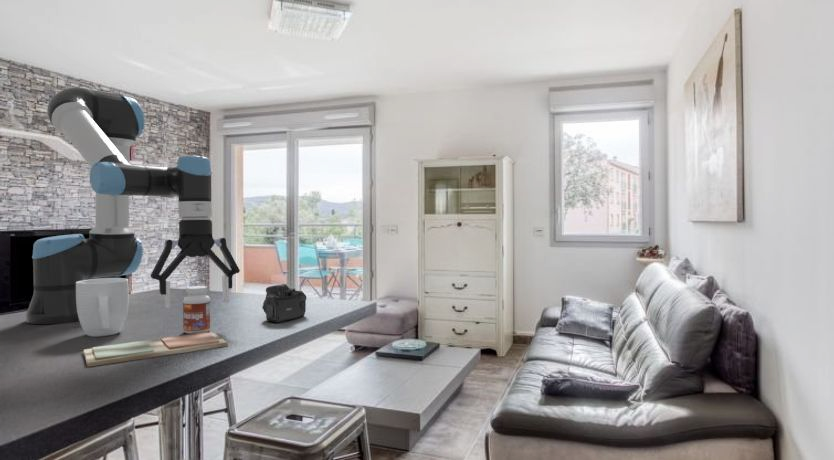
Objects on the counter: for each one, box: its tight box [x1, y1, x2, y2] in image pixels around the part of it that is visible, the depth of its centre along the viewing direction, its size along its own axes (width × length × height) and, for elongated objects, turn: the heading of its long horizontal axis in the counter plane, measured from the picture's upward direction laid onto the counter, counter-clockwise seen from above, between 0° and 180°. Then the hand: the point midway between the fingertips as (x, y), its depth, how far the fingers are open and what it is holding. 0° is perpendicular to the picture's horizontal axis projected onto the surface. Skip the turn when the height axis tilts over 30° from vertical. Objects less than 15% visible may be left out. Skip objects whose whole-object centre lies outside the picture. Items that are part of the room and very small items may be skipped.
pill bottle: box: [182, 285, 211, 335], centre depth 126 cm, size 6×6×11 cm
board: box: [83, 331, 229, 368], centre depth 109 cm, size 12×26×1 cm, turn 126°
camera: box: [262, 283, 307, 323], centre depth 141 cm, size 13×10×10 cm
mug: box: [76, 277, 130, 338], centre depth 122 cm, size 15×11×13 cm
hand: (197, 304), depth 126 cm, fingers open, 13 cm apart
